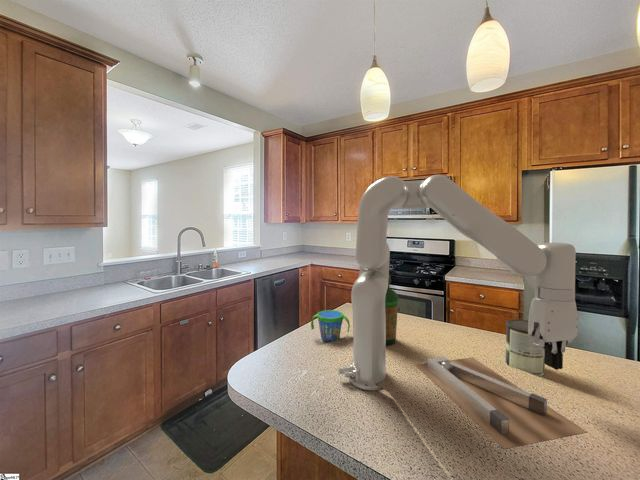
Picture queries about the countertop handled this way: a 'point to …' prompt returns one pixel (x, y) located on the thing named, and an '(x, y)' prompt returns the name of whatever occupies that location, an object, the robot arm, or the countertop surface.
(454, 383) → the tongs fixed arm
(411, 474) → the countertop surface
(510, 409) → the walnut board
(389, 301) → the bottle
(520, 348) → the coffee can
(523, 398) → the tongs arm
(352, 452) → the countertop surface
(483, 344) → the countertop surface
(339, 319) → the snack cup
